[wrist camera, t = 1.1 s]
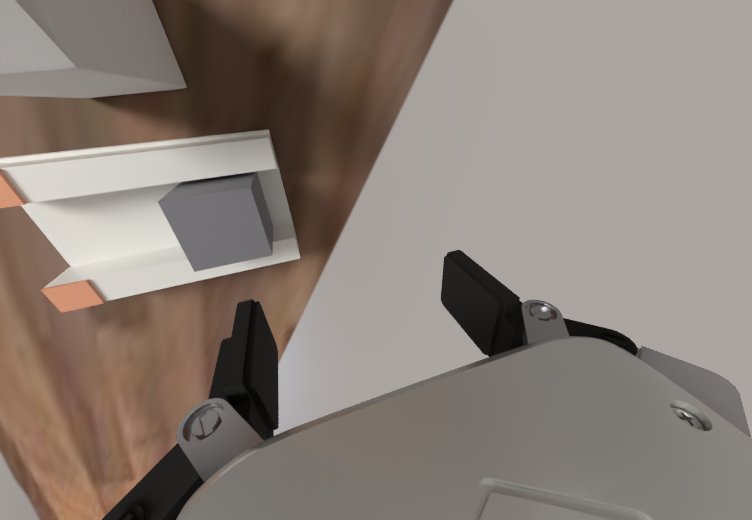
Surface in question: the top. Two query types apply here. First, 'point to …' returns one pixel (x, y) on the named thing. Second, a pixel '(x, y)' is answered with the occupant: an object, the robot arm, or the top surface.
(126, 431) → the top surface
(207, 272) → the chute
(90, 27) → the milk carton
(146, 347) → the top surface
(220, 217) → the block
